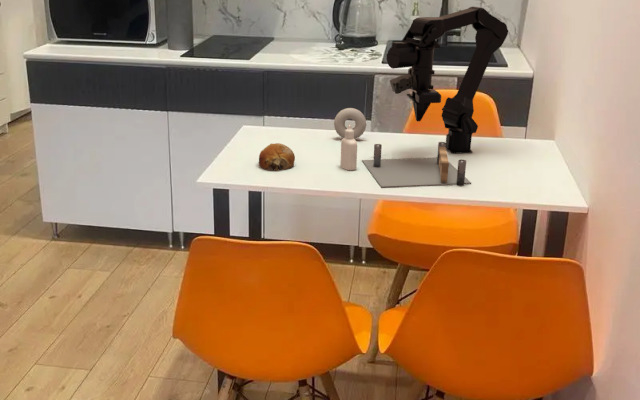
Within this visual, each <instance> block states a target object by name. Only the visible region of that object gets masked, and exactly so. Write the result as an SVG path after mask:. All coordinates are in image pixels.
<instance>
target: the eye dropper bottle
mask: <svg viewBox="0 0 640 400" xmlns="http://www.w3.org/2000/svg"><path fill="white" fill-rule="evenodd" d="M347 128H348V129H346V130H345V138H341V141H340V167H341V168H342V169H344V170H347V171H355V170H357V167H358V166H357V163H358V162H357V161H358V160H357V159H358V144H357V143H358V142H357V141H356V139H354V130H353V128H352V124H348V126H347Z"/></svg>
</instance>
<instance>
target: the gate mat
mask: <svg viewBox="0 0 640 400" xmlns="http://www.w3.org/2000/svg"><path fill="white" fill-rule="evenodd" d="M361 162H362V163H363V165H364V166H365V168H366V169H367V170H368V171H369V173H370V174H371V176H372V177H373V179H374V180H375V181H376V183H377V184H378V185H379V187H380V188H381V189H385V188H386V189H387V188H388V189H389V188H409V187H410V188H411V187H413V188H415V187H436V186H438V187H439V186H458V185H457V183H456V182H457V171H458V168H456V167H455V166H454V165H453V164H452V163H451V162H450V161H449V166H448V178H447V182H443V181H441V174H440V168H439V165H438V164H437V156H434V157H415V158H414V157H411V158H409V157H407V158H381V167H373V162H374V159H362V160H361ZM464 185H472V182H471V181H470V180H469V179H468V178H467V177H466V176H465V181H464Z"/></svg>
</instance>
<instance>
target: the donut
mask: <svg viewBox="0 0 640 400" xmlns="http://www.w3.org/2000/svg"><path fill="white" fill-rule="evenodd" d="M347 120H353V121H354V123H355V125H354V127H353V128H352V129H353V130H354V139H355V140H356V139H359V138H360V137H361V136H362V135H364V133H365V131H366V128H367V119H366V116H365V115H364V114H363V112H361V110H359V109H356V108H353V107H347V108H343V109H342V110H340V111H339V112H338V113H336V116H335V118H334V121H333V126H334V127H333V128H334V130H335V133H336V134H337V135H338V136H339V137H341V139H343V138H345V130H346V129H348V127H347V126H346V121H347Z"/></svg>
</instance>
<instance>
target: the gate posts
mask: <svg viewBox="0 0 640 400" xmlns="http://www.w3.org/2000/svg"><path fill="white" fill-rule="evenodd" d="M437 145H438V147H437V156H436V157H437V164H438V165H439V147H446V141H444V142H443V141H439V142H438V143H437ZM382 149H383V148H382V144H380V143H375V144H374V146H373V160H374V162H373V167H381V159H382ZM466 168H467V160H466V159H458V161H457V170H458V171H457V182H456V183H457V185H456V186H459V187H464V186H465V184H464V181H465V177H466Z"/></svg>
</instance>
